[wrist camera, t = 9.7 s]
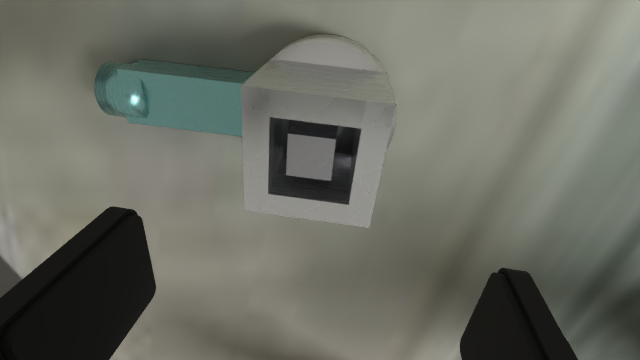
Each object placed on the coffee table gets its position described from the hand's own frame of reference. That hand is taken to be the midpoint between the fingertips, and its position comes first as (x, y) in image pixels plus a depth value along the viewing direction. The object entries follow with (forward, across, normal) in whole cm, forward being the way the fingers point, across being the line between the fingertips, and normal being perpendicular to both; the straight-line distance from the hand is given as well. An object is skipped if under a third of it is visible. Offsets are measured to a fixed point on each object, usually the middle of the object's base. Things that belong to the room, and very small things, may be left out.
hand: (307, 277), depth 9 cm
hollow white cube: (+11, +1, 0) cm, 11 cm away
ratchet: (+13, +5, -1) cm, 14 cm away
